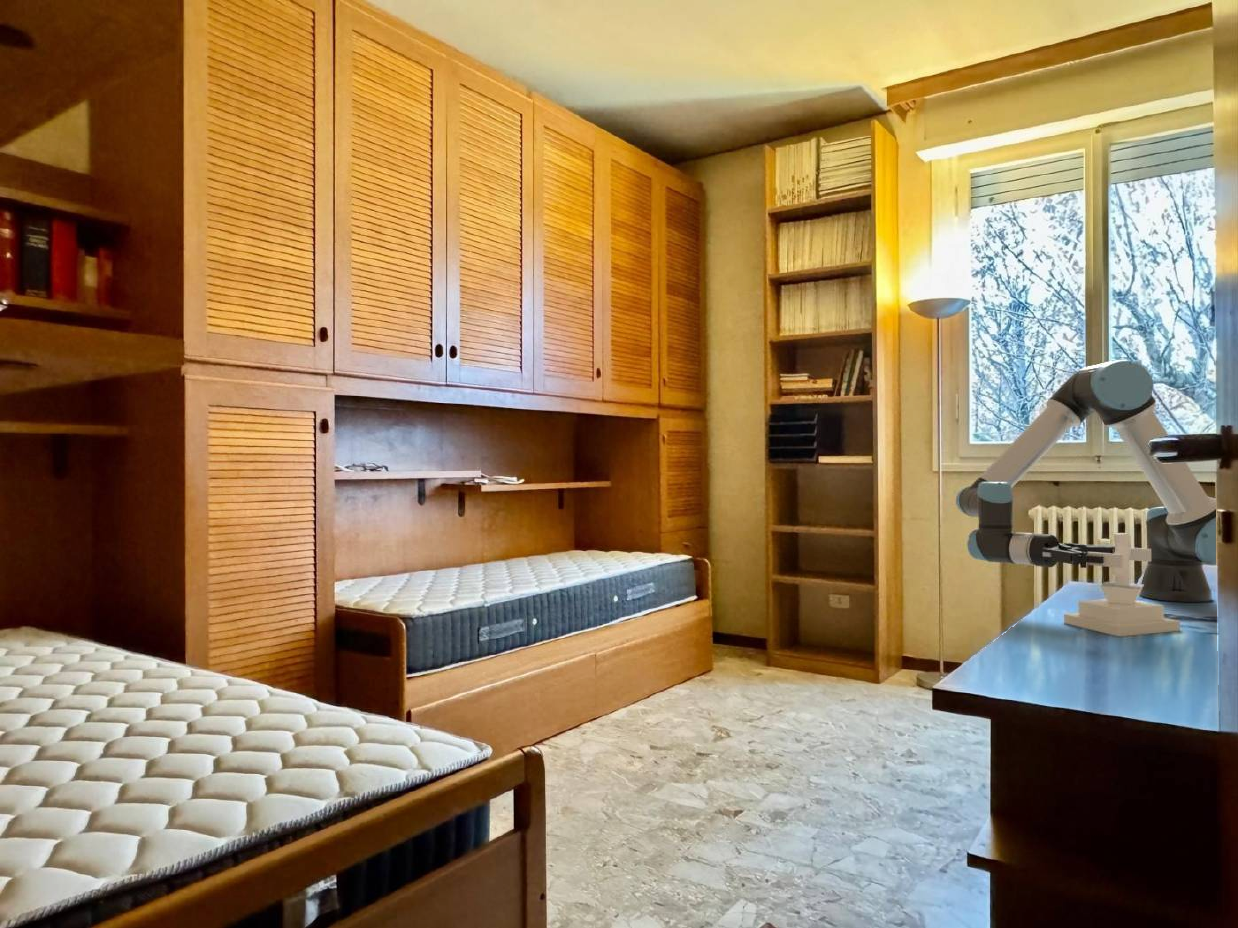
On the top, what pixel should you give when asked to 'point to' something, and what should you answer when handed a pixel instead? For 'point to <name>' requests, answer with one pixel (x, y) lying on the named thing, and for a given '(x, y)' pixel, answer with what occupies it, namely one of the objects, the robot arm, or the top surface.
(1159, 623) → the plinth
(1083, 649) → the top surface
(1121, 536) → the figurine
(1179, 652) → the top surface
